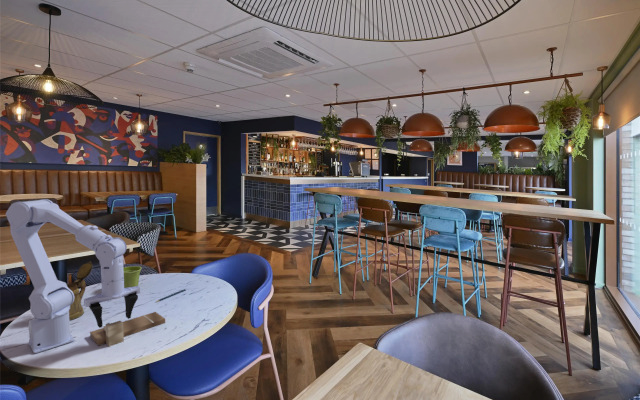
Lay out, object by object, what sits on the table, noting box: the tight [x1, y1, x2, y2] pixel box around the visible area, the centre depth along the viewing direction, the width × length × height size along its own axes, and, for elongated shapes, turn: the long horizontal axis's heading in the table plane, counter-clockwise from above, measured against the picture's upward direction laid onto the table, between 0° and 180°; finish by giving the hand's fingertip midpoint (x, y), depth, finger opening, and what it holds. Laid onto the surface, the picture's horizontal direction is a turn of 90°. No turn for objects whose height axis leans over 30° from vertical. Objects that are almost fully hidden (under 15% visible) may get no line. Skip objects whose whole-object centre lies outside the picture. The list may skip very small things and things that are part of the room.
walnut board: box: [89, 311, 166, 346], centre depth 106 cm, size 20×8×2 cm, turn 140°
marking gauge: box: [102, 320, 125, 347], centre depth 100 cm, size 4×8×6 cm, turn 50°
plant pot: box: [123, 265, 143, 288], centre depth 142 cm, size 9×9×9 cm
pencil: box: [155, 288, 187, 303], centre depth 135 cm, size 1×1×15 cm
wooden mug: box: [66, 260, 93, 321], centre depth 116 cm, size 9×14×18 cm, turn 161°
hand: (114, 321), depth 98 cm, fingers open, 7 cm apart
